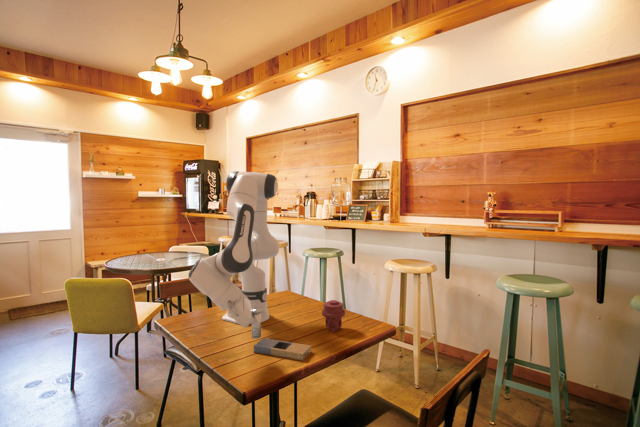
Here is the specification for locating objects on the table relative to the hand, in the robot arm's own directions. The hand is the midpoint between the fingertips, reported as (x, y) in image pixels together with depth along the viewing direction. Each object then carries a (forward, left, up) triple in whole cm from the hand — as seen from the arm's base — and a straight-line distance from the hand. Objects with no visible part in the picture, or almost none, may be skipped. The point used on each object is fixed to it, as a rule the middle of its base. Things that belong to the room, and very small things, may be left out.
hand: (258, 322), depth 117 cm
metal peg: (-1, 0, -5) cm, 5 cm away
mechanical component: (+16, +36, -14) cm, 41 cm away
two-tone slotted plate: (+5, +9, -13) cm, 17 cm away
